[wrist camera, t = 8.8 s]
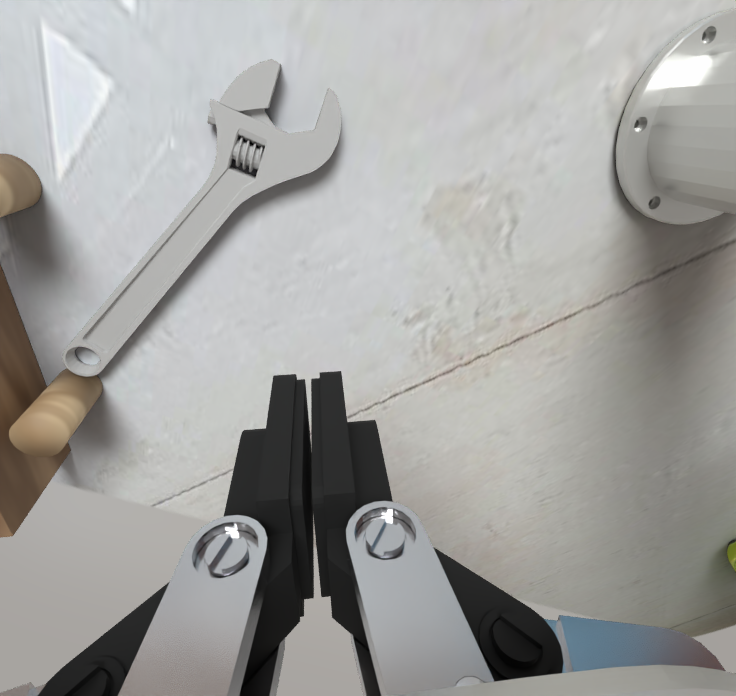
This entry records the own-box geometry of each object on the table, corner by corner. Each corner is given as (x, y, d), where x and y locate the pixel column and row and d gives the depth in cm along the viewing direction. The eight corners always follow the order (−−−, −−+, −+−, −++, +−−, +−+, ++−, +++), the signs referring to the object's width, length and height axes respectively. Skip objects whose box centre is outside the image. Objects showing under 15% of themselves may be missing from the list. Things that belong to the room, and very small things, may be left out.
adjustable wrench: (100, 373, 32) (89, 386, 31) (14, 315, 29) (-2, 326, 28) (355, 130, 27) (358, 131, 25) (279, 30, 24) (278, 24, 22)
